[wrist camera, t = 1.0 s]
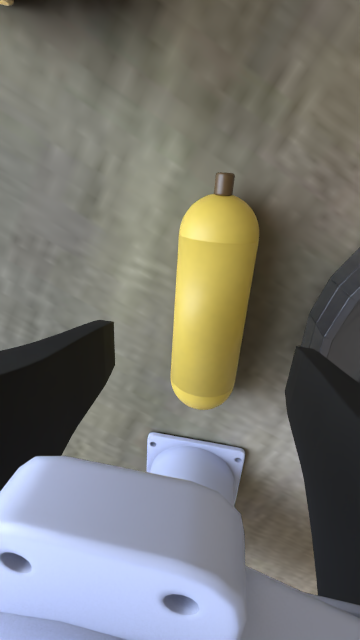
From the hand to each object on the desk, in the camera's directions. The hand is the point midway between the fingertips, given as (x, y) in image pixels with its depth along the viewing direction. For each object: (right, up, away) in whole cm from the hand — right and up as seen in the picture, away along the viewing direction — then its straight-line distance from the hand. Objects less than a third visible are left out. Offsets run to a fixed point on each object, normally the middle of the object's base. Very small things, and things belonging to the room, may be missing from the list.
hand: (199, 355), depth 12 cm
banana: (+1, +3, +8) cm, 8 cm away
